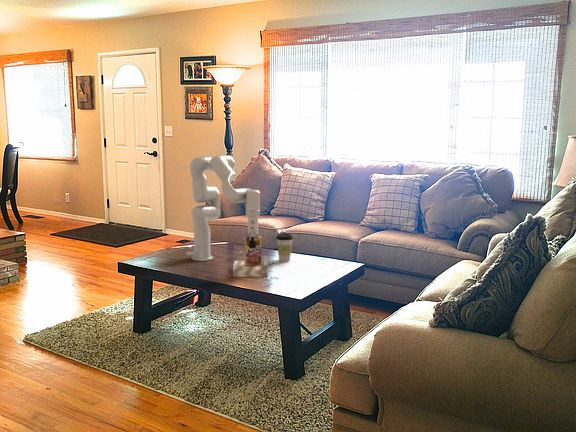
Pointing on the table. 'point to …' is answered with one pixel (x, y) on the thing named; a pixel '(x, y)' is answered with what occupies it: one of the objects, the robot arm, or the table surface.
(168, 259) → the table surface
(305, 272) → the table surface
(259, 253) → the candy box
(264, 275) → the low shelf
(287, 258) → the coffee cup
